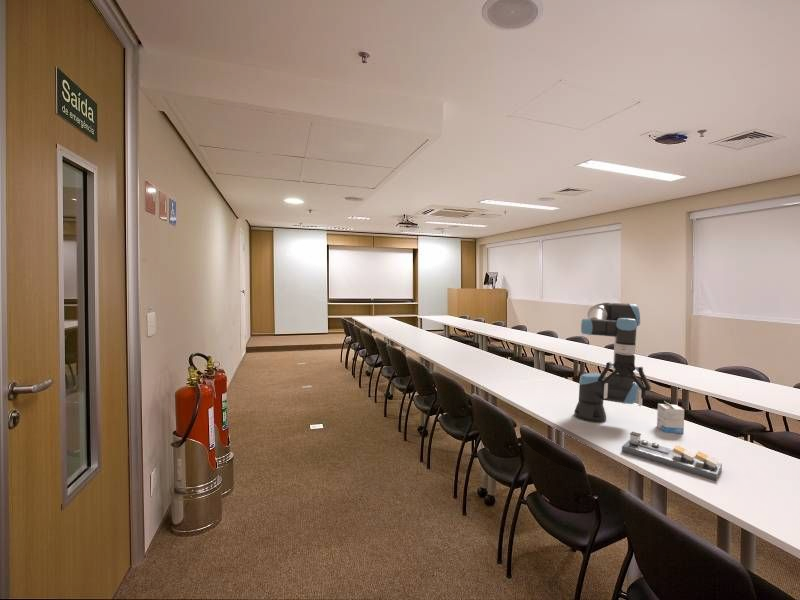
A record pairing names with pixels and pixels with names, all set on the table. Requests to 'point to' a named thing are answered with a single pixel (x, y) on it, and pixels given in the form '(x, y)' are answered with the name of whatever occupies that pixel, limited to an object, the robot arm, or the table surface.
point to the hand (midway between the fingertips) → (622, 401)
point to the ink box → (670, 418)
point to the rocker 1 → (683, 452)
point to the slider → (635, 438)
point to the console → (671, 459)
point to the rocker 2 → (706, 459)
